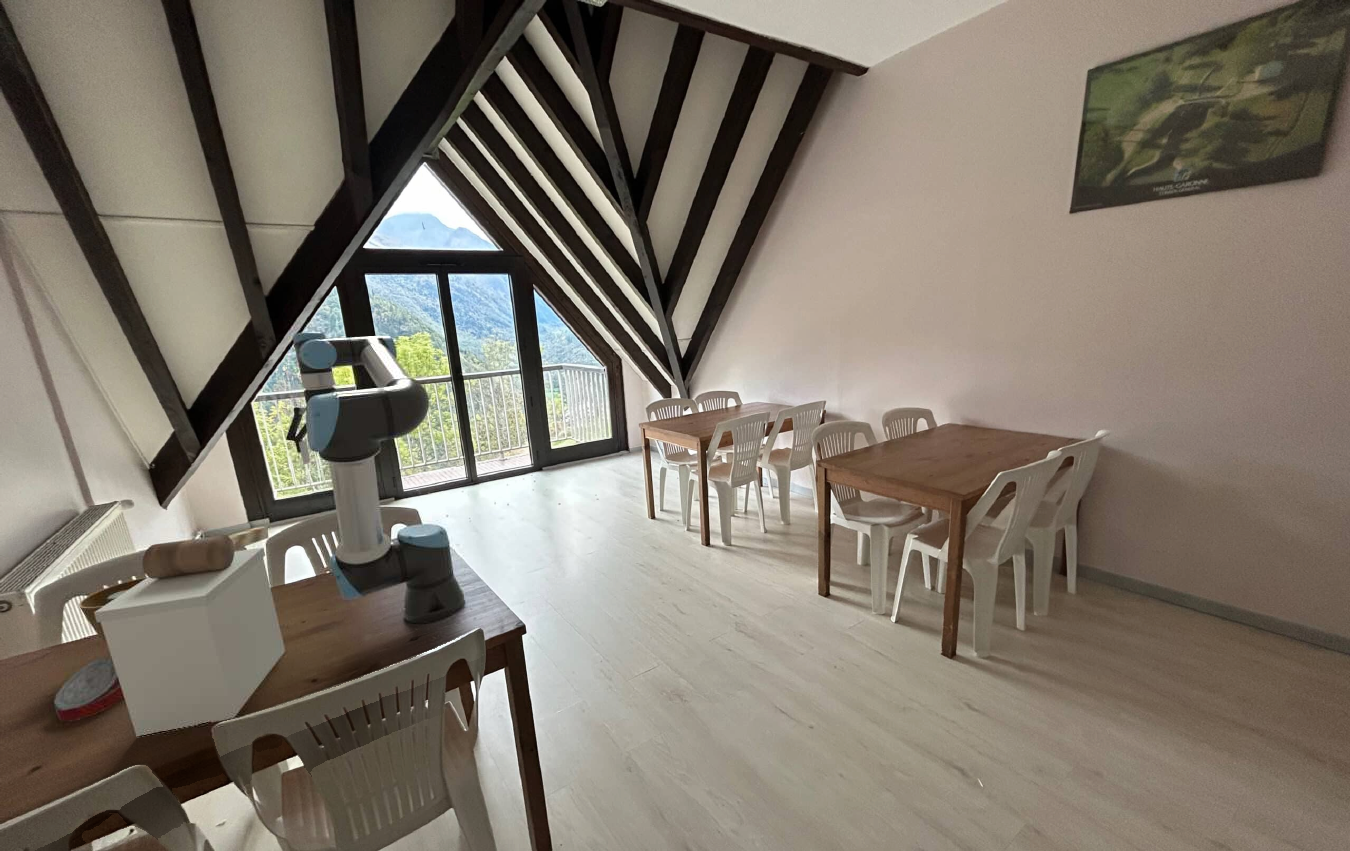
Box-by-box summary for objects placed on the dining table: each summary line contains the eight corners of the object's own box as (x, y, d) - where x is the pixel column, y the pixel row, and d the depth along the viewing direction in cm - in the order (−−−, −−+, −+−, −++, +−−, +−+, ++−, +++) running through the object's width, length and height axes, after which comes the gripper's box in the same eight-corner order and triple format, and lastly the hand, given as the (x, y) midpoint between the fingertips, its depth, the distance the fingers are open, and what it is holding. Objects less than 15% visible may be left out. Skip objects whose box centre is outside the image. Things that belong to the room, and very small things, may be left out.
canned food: (132, 713, 112) (134, 683, 108) (61, 741, 103) (60, 710, 100) (118, 676, 116) (118, 645, 113) (48, 700, 108) (47, 668, 104)
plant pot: (197, 634, 132) (182, 578, 129) (123, 672, 118) (103, 610, 115) (159, 627, 136) (143, 572, 133) (83, 663, 122) (63, 603, 119)
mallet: (215, 572, 104) (212, 538, 104) (144, 582, 102) (140, 548, 102) (289, 542, 134) (286, 516, 134) (235, 549, 131) (232, 523, 131)
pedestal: (237, 717, 103) (204, 595, 97) (133, 738, 98) (93, 612, 93) (287, 650, 123) (263, 547, 118) (204, 665, 119) (175, 559, 114)
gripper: (372, 382, 150) (384, 452, 154) (274, 389, 144) (290, 461, 148) (364, 385, 143) (377, 458, 147) (261, 393, 137) (277, 468, 141)
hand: (333, 460), depth 148 cm, fingers open, 13 cm apart
